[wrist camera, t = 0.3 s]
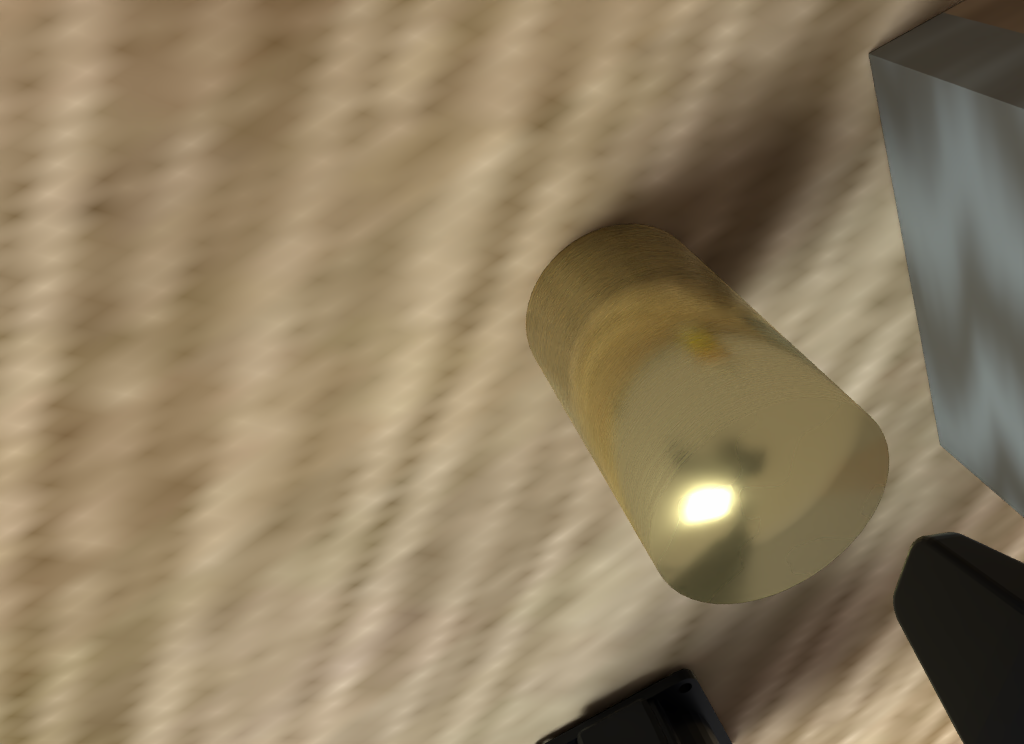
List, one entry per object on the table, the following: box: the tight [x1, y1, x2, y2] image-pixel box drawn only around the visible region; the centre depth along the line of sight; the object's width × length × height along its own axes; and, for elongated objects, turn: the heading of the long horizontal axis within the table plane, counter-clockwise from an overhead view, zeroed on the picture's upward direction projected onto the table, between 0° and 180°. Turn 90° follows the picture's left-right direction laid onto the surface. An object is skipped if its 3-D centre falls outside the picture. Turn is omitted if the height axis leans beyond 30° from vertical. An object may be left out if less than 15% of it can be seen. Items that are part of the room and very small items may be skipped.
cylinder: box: [526, 224, 889, 604], centre depth 19 cm, size 5×5×8 cm
